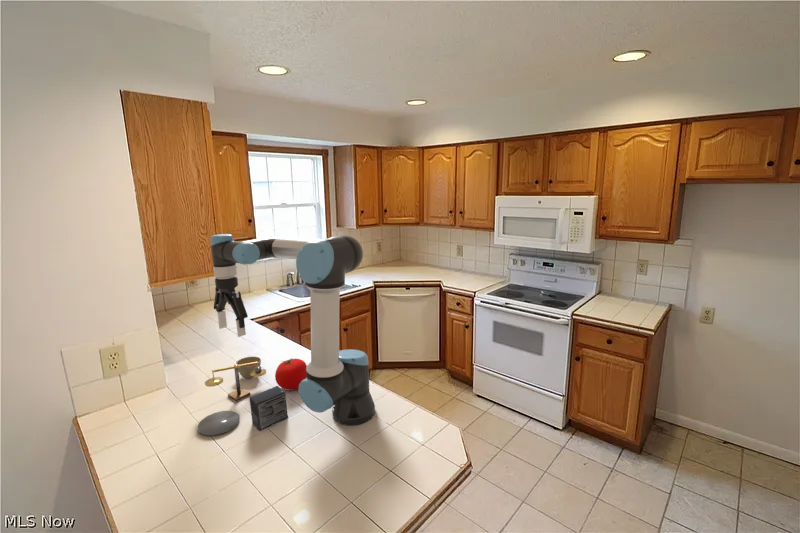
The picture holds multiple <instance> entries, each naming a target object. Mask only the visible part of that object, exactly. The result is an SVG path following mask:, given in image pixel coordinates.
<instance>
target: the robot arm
mask: <svg viewBox="0 0 800 533" xmlns="http://www.w3.org/2000/svg"><path fill="white" fill-rule="evenodd" d="M363 250H364V249H363V247H362V245H361V243H360V242H359V240H357V239H356V238H355V237H352V236H350V235H339V236H331V237H328V238H322V239H320V238H296V237H295V238H294V237H283V236H279V235H276V236H273V235H272V236H270V237H264V238H256V239H251V240H248V239H247V240H243V241H237V240H234V236H233V235H232V234H230V233H221V234H220V233H219V234H213V235H211V236H210V251H211V259H212V264H213V266H212V269H213V276H214V277H215V279H214V283H215V295H214V300H213V301H214V302H213V310H215V312H217V321H218V327H219V328H218V329H219V330H221V329H222V330H223V329H225V328H228V322H227V316H226V308H225V307H226V305H227V304H228V305H230V307H231V309H232V311H233V313H234V315H235V317H236V318H235V323H236V332H237V337H238V338H240V337H243V336H246V334H247V332H246V325H245V319H246V318H248V312H247V310H246V307H245V305H244V301H243V299H242V294H241V291H236V288H237V287H238V286H239V282H238V276H237V268H238V266H237V264H240V265H253V264H255V263H256V262H257V261H260V260H265V259H272V258H273V259H286V260H287V259H288V260H295V265H296V266H295V268H296V272H297V274H299V278H300V279H301V280H302V281H303V282H304V286H305V287H306V288H307V289H308V290H309V291H310V292H309V293H310V296H309V297H310V362H309V363H307V364H306V365H307V367H306V379H303V380H302V382H301V383H300V384H299V388H298V394H299V396H300V397H299V398H300V399H301V401H302V402H303V404H304V405H305V406H306V407H307V408H308V409H309V410H311V411H312V412H315V413H318V414H319V413H321V414H322V413H324V412H326V411H328V410H329V409H331V408H332V411H331V412H332V419H333V420H334V421H335V422H337V423H338V424H341V425H345V426H358V425H362V424H365V423H366V422H368V421H370V420H371V419H372V418H374V416H375V413H376V406H375V401H374V400H373V396H372V395H371V393H370V370H369V369H370V368H369V365H370V362H369V356H368V354H367V353H366V352H365V351H362V350H359V349H349V348H348V349H341V350H340V302H341V301H340V296H341V295H340V291H341V289H343V288H344V286H346V282H345V280H346V274H348V273H350V272H351V273H352V272H354V271H355V270H356V269H357V268H358V267H359V266H360V265H361V263H362V262H363V259H364V251H363Z"/></svg>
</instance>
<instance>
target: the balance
mask: <svg viewBox="0 0 800 533" xmlns="http://www.w3.org/2000/svg"><path fill="white" fill-rule="evenodd" d="M256 364H257V367H255V368H254V369H255V370H253V371H252V372H251V373H250V375H251V376H252V377H255V378H259V377H262V376H265V375H266V373H267V370H266V369H264V368H262V366H261V365H260V366H258V362H252V363H247V364H241V365H238V364H236V363H235V364H234V365H231V366H224V367H220V368H214V369H211V373H212V377H210V378H209V379H206V380H205V382H204V385H205V387H216V386H219V385H221V384H222V383H223V382H224V378H222V377H221V376H215V374H214V373H216V372H222V371H228V370H233V369H234V370H233V371H234V378H235V387H236V390H233V391H232V392H229V393H227V398H229V399H230V400H232V401H234V402H235V403H237V402H239V401H241V400H243V399H245V398H248V397H251V396H252V395H251V391H249V390H247V389H245V388H244V387H241V380H240V373H239V370H238V368H239V367H245V366H250V365H256Z"/></svg>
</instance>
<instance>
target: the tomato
mask: <svg viewBox="0 0 800 533" xmlns="http://www.w3.org/2000/svg"><path fill="white" fill-rule="evenodd" d="M307 365H308V364H307V363H306V362H305V360H303V359H300V358H292V357H290V359H286V360H282V361H281V363H279V364H278V366H277V367H276V369H275V373H274V374H275V375H274V376H275V378H274V379H275V381H276V384H277V386H278V387H280V388H281V389H283V390H288V391H294V390H297V389H298V390H299V384H300V383H301V382H302V380H303V379H306V367H307Z"/></svg>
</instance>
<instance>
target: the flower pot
mask: <svg viewBox="0 0 800 533" xmlns="http://www.w3.org/2000/svg"><path fill="white" fill-rule="evenodd" d="M261 361H262V359H261V358H260V357H259V356H246V357H242V358H240V359H238V360H237V361H236V362H235V364H238V365H241V364H247V363H252V362H258V366H261V365H262V364H261V363H262V362H261ZM255 367H257V364H256V365H250V366H245V367H239V368H238V370H239V376H241V377H242V378H243V379H244V380H248V381H249V380H253V379H254V378H256V377H252V376H251V375H250V373H251V372H252V371H253V370H255V369H254V368H255Z"/></svg>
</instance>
